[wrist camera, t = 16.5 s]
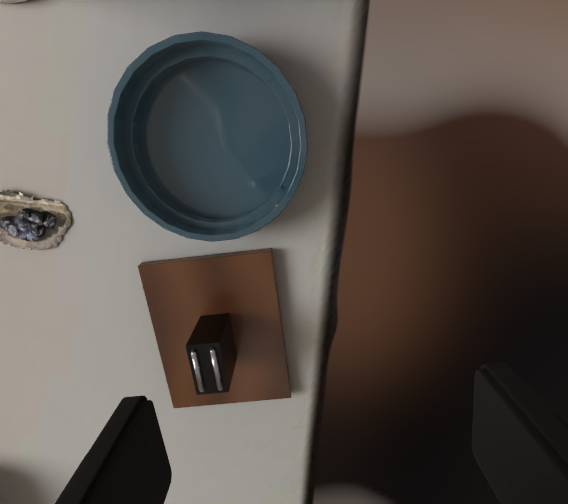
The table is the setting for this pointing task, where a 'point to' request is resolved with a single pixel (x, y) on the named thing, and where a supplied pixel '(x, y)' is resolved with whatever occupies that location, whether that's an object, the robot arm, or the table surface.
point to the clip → (212, 354)
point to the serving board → (218, 300)
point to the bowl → (207, 136)
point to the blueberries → (32, 221)
